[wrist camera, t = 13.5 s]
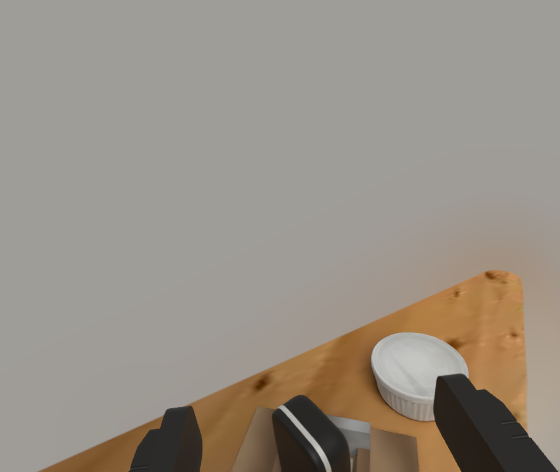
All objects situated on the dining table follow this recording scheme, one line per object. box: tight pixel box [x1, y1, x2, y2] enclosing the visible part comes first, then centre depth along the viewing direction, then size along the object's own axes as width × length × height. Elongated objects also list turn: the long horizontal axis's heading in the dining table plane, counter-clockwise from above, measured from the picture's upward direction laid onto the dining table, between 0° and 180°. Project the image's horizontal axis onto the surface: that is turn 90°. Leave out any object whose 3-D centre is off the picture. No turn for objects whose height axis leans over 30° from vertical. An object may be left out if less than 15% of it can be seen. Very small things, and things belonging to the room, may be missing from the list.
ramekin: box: [371, 332, 468, 421], centre depth 41 cm, size 11×11×5 cm
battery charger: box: [272, 395, 351, 472], centre depth 29 cm, size 7×4×11 cm, turn 35°
